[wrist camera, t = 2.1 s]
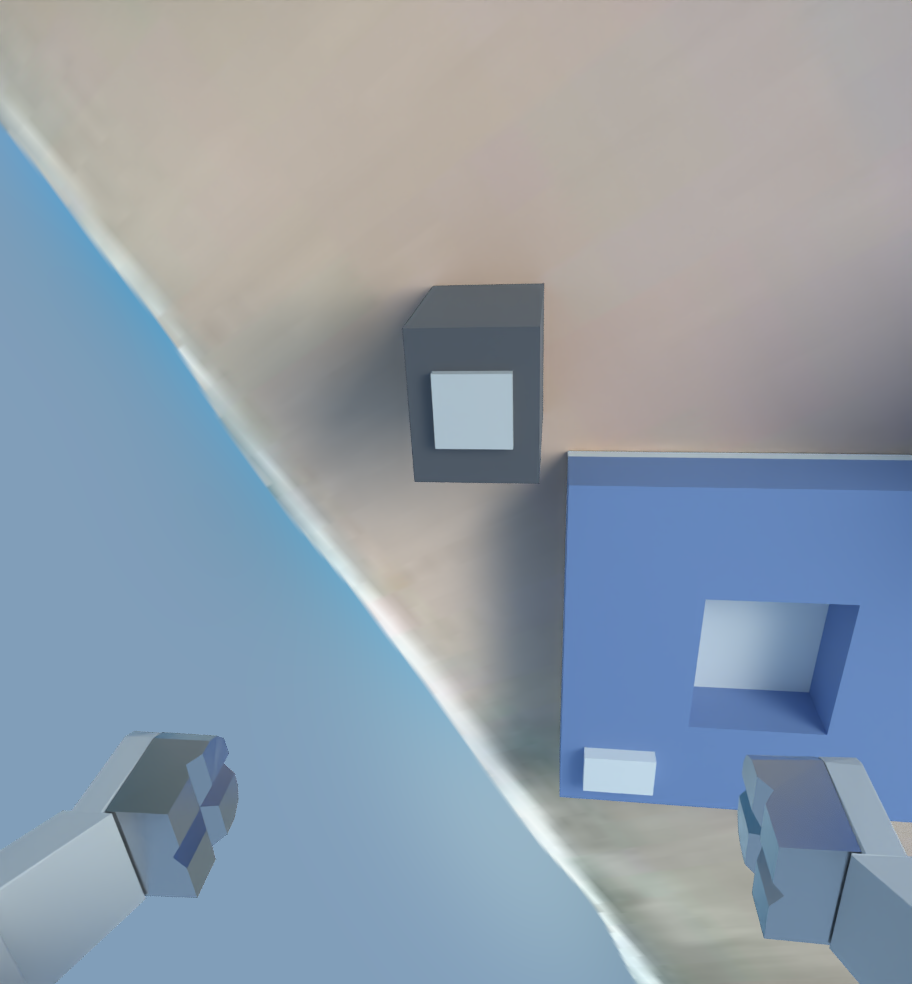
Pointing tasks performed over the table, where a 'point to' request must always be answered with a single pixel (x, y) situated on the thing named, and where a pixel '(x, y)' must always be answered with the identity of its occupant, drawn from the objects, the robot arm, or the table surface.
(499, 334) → the plug
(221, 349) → the table surface
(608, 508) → the socket
